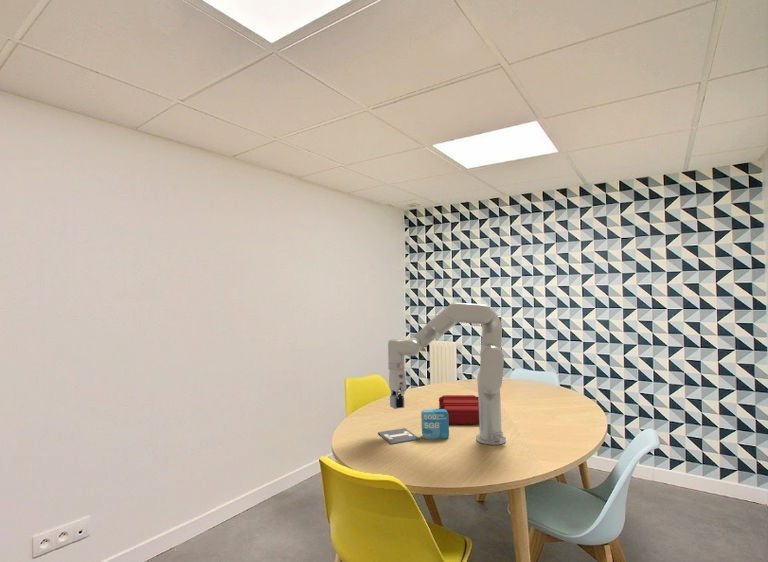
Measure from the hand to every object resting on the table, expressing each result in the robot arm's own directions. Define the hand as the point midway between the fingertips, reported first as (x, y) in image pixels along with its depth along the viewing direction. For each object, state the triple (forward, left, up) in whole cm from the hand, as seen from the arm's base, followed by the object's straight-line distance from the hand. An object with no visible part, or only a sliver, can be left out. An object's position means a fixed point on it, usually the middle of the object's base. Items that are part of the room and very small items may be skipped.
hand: (397, 405), depth 182 cm
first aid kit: (+15, -44, -15) cm, 48 cm away
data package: (-8, -15, -14) cm, 22 cm away
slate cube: (0, 0, -1) cm, 1 cm away
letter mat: (0, 0, -14) cm, 14 cm away
